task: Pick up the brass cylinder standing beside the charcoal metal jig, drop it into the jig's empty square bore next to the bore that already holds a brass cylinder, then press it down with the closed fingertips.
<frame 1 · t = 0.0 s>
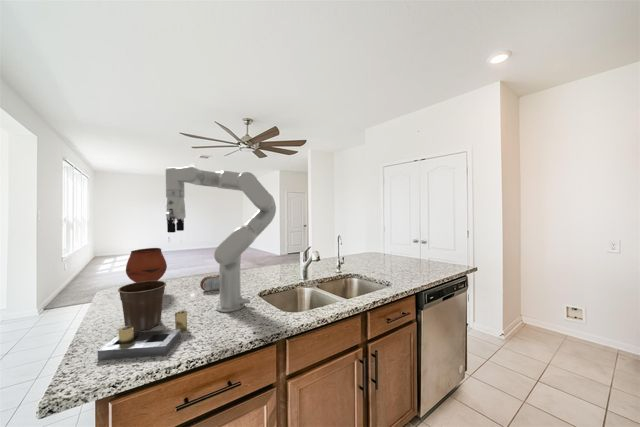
hand: (176, 231, 123), 37 cm above the worktop, tool pointing down, fingers open, 9 cm apart
plant pot: (143, 325, 108), on the worktop
tin: (214, 290, 154), on the worktop
jig: (142, 347, 90), on the worktop
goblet: (147, 294, 147), on the worktop
brass cylinder: (181, 330, 103), on the worktop
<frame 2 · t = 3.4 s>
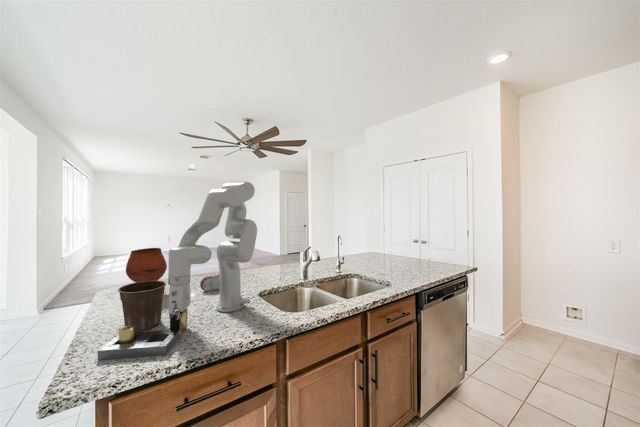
hand: (178, 325, 102), 2 cm above the worktop, tool pointing down, fingers open, 7 cm apart
nothing on the worktop moved.
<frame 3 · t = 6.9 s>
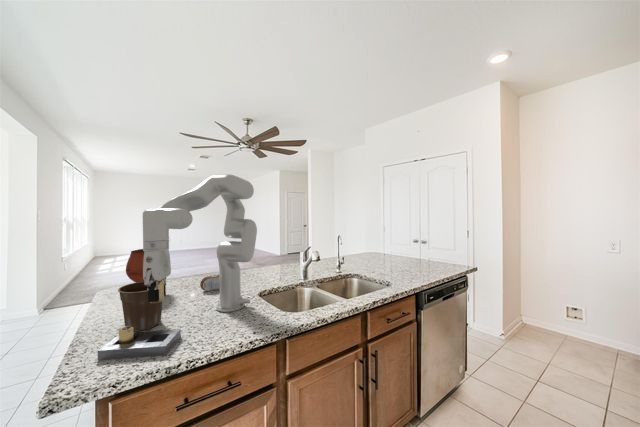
hand: (157, 298, 90), 17 cm above the worktop, tool pointing down, fingers closed on brass cylinder, 4 cm apart
brass cylinder: (157, 301, 90), point 16 cm above the worktop, touching gripper
everything else where it was.
when the fingers open (4 cm above the worktop, at t = 9.7 s): brass cylinder drops 3 cm, resting in jig.
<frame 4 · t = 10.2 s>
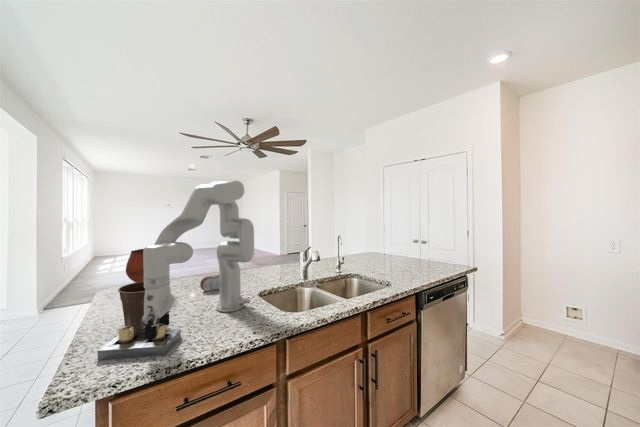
hand: (158, 331, 90), 5 cm above the worktop, tool pointing down, fingers open, 9 cm apart
brass cylinder: (158, 346, 91), resting in jig
everything else where it was.
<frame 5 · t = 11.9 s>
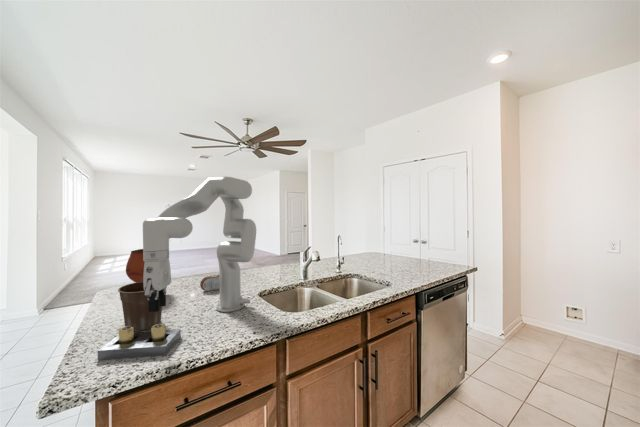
hand: (157, 308, 90), 13 cm above the worktop, tool pointing down, fingers open, 3 cm apart
nothing on the worktop moved.
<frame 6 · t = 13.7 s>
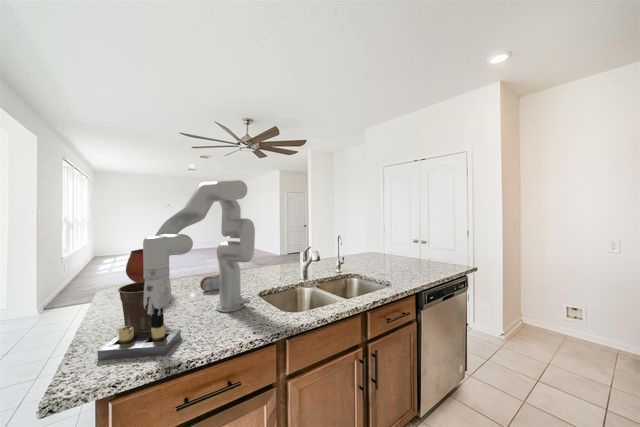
hand: (157, 326, 90), 7 cm above the worktop, tool pointing down, fingers closed
brass cylinder: (158, 346, 91), resting in jig, touching gripper
everything else where it was.
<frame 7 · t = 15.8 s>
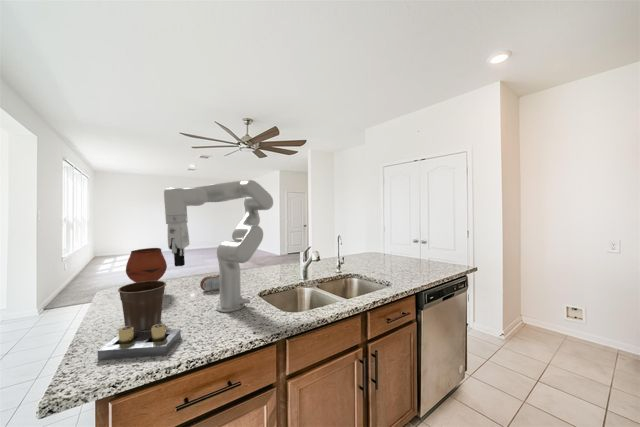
hand: (179, 265, 105), 25 cm above the worktop, tool pointing down, fingers closed
brass cylinder: (158, 346, 91), resting in jig
everything else where it was.
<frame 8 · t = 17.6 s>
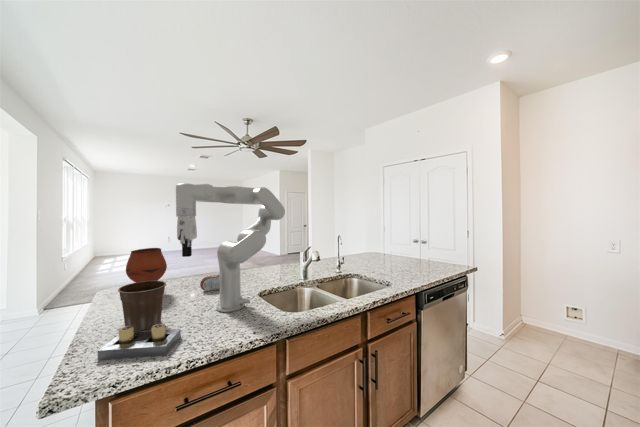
hand: (187, 256, 112), 27 cm above the worktop, tool pointing down, fingers closed
nothing on the worktop moved.
at the end: brass cylinder 0.3 cm from the target spot on the jig, point 0.0 cm above the jig's base; brass cylinder tilted 0°; the gripper is holding nothing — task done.
